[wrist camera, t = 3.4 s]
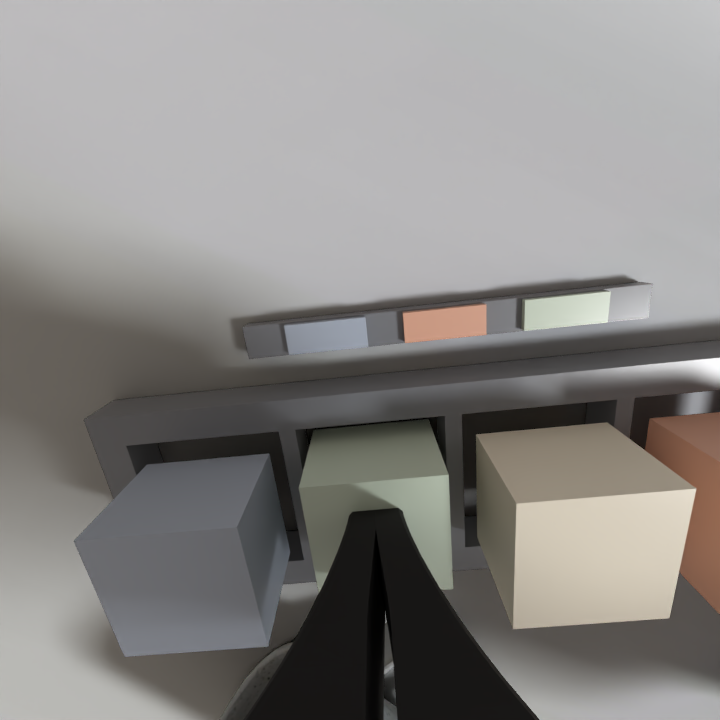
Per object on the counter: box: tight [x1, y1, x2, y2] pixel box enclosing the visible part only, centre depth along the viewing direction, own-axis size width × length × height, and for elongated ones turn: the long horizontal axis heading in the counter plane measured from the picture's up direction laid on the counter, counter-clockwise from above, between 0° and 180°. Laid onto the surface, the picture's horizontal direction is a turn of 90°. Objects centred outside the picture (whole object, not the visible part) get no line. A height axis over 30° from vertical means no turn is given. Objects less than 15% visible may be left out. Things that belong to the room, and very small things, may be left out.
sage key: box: [299, 419, 453, 592], centre depth 11 cm, size 4×4×3 cm
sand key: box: [476, 422, 696, 629], centre depth 10 cm, size 4×4×3 cm
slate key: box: [74, 453, 290, 657], centre depth 10 cm, size 4×4×3 cm
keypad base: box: [84, 340, 720, 584], centre depth 12 cm, size 22×7×1 cm, turn 96°
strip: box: [242, 282, 653, 359], centre depth 11 cm, size 12×1×1 cm, turn 96°
